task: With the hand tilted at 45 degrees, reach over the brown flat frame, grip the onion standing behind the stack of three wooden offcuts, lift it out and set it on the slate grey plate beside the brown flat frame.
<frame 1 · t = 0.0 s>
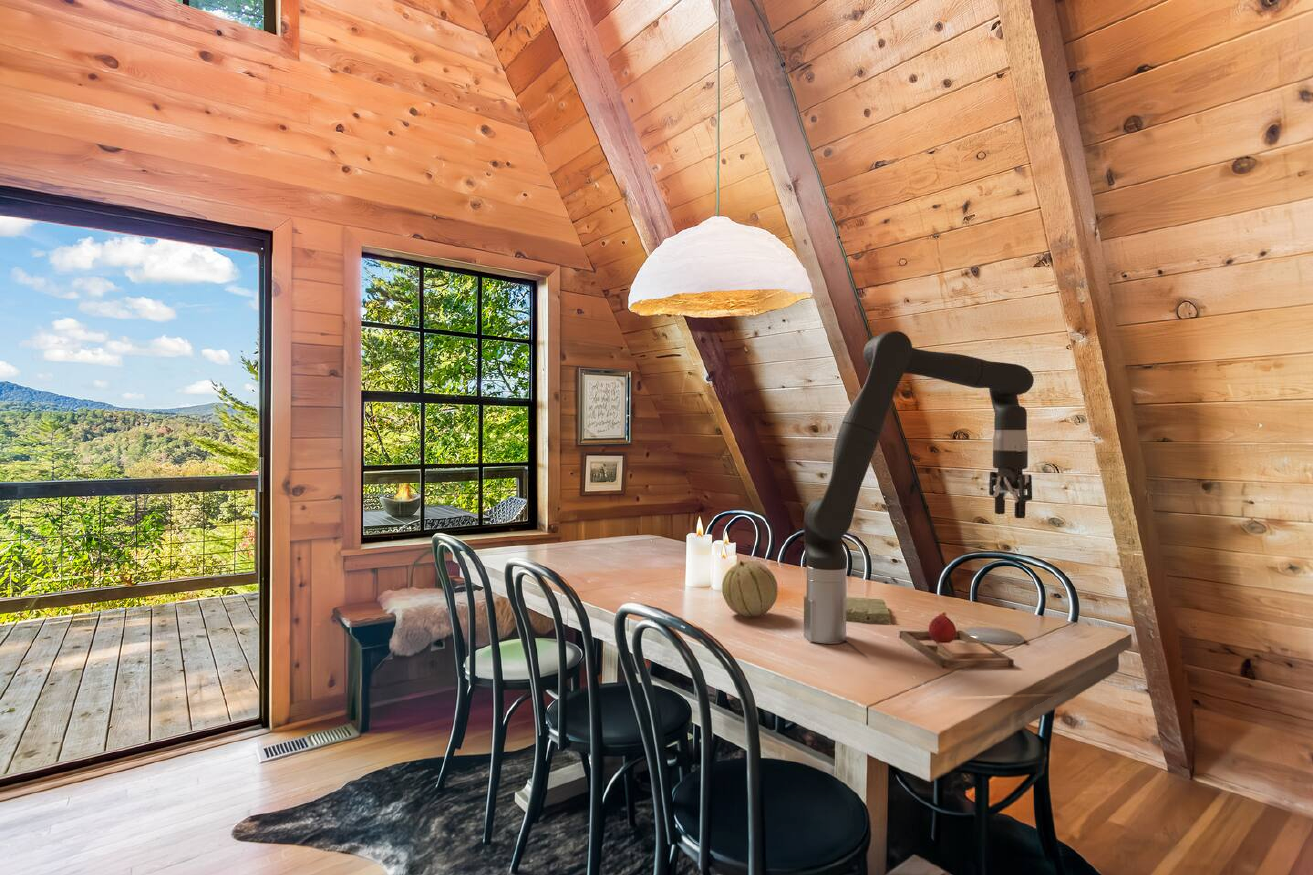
hand: (1009, 516, 169), 29 cm above the table, tool pointing down, fingers open, 8 cm apart
cantaloupe: (749, 616, 187), on the table
green flat block: (849, 615, 191), on the table
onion: (942, 647, 161), on the table
brown flat frame: (952, 653, 156), on the table
plate: (993, 638, 167), on the table
offcut middle: (965, 659, 150), resting on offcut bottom, touching offcut top
offcut top: (965, 653, 150), point 2 cm above the table, touching offcut middle
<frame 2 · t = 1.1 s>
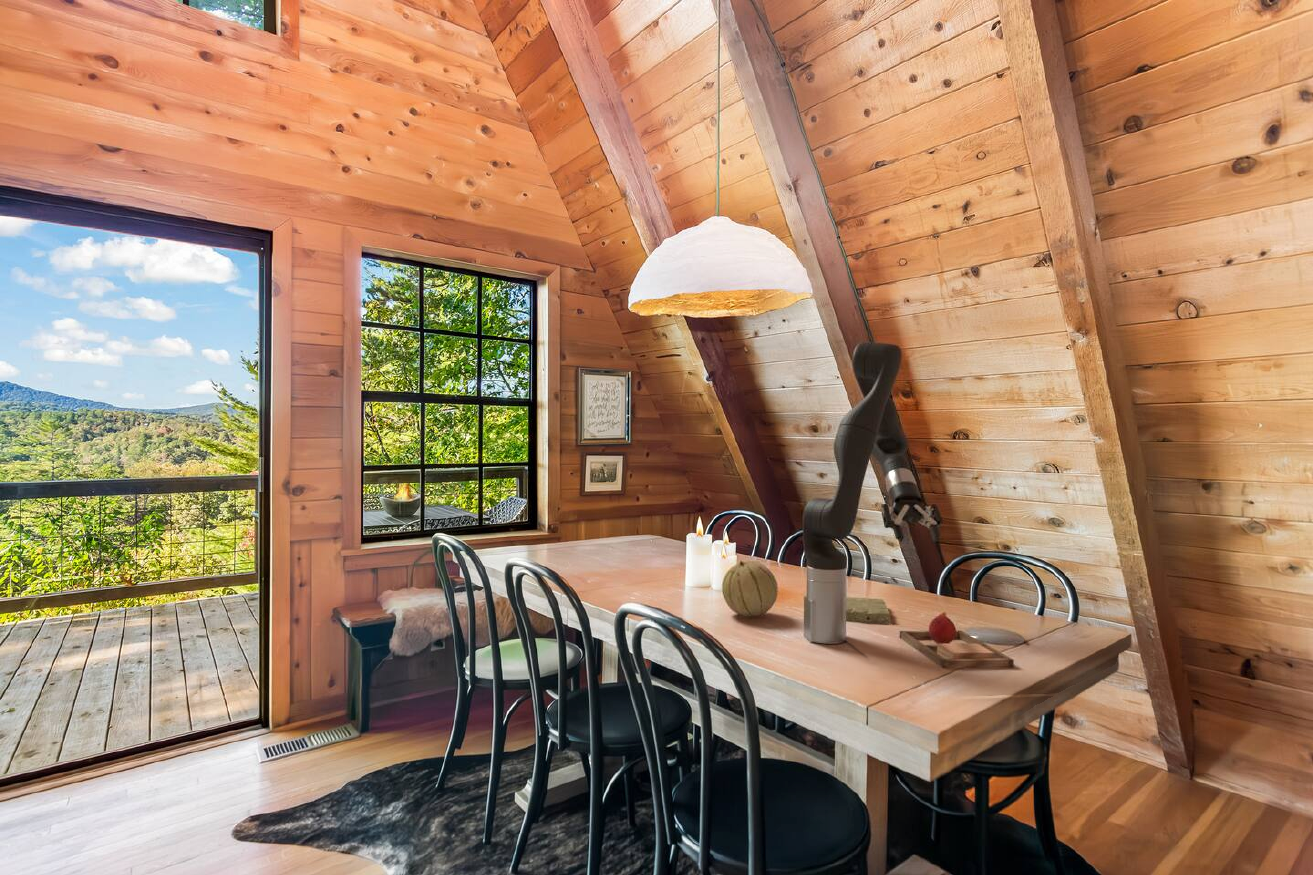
hand: (918, 539, 174), 23 cm above the table, tool tilted 45°, fingers open, 8 cm apart
nothing on the table moved.
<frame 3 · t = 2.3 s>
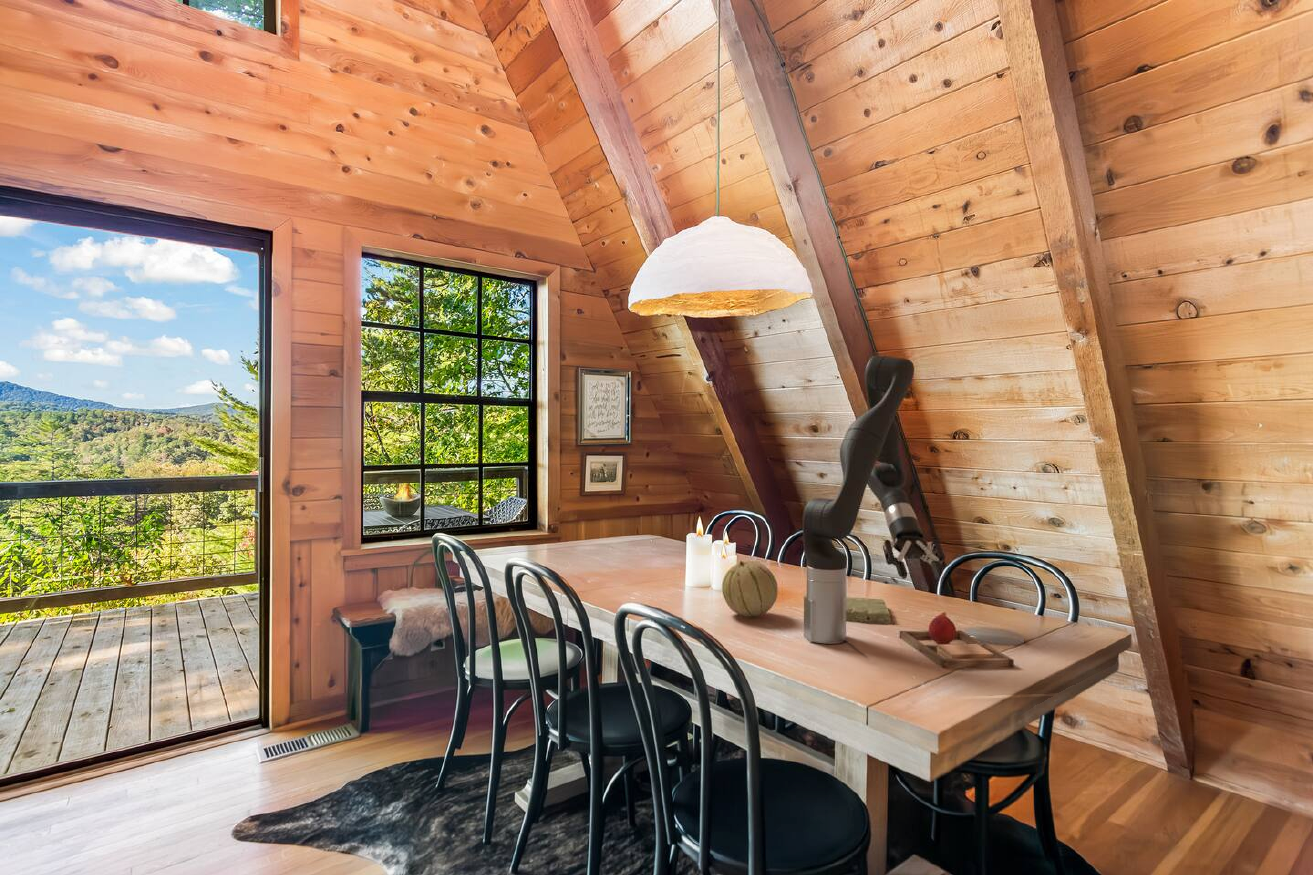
hand: (922, 576, 171), 14 cm above the table, tool tilted 45°, fingers open, 8 cm apart
nothing on the table moved.
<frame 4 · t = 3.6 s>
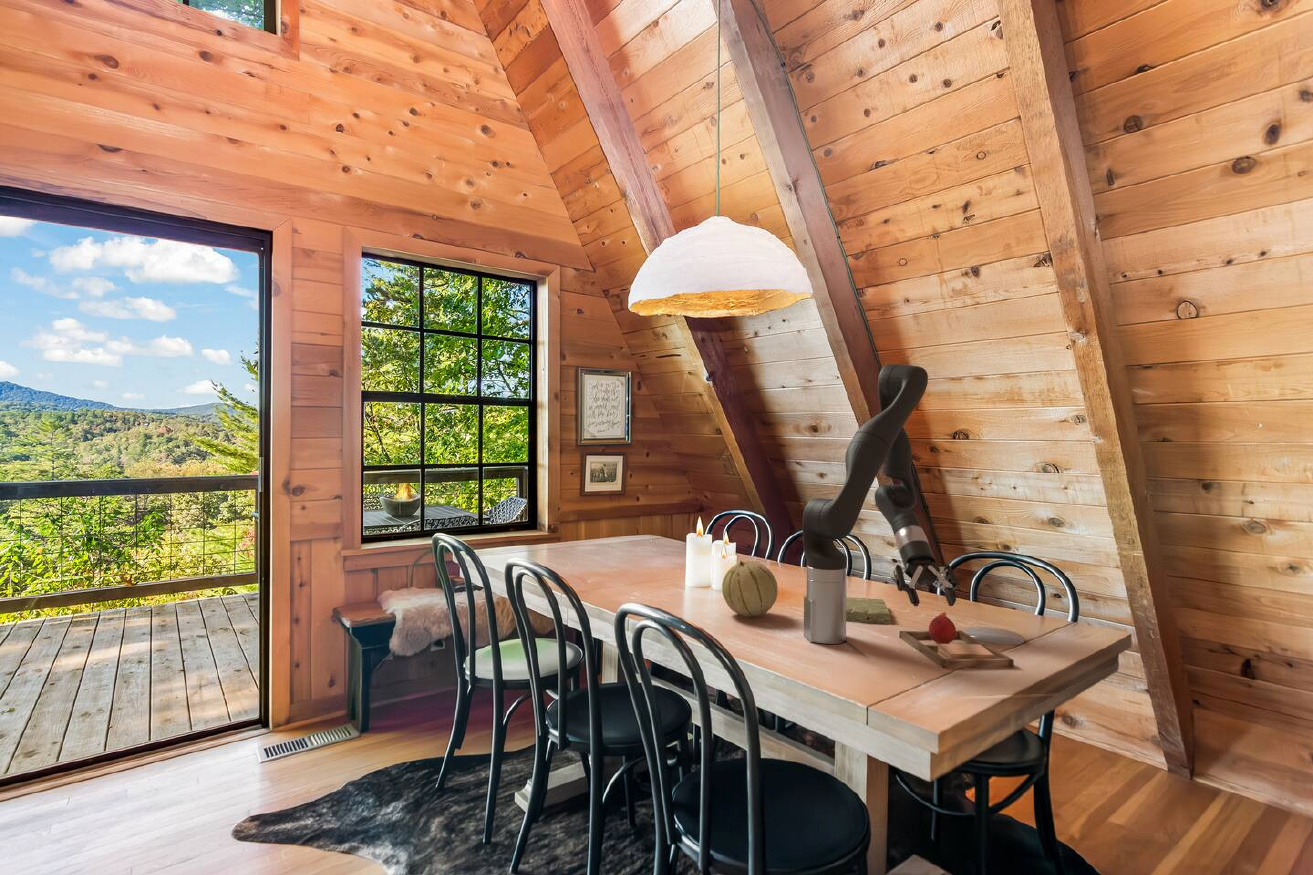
hand: (934, 604, 164), 9 cm above the table, tool tilted 45°, fingers open, 8 cm apart
nothing on the table moved.
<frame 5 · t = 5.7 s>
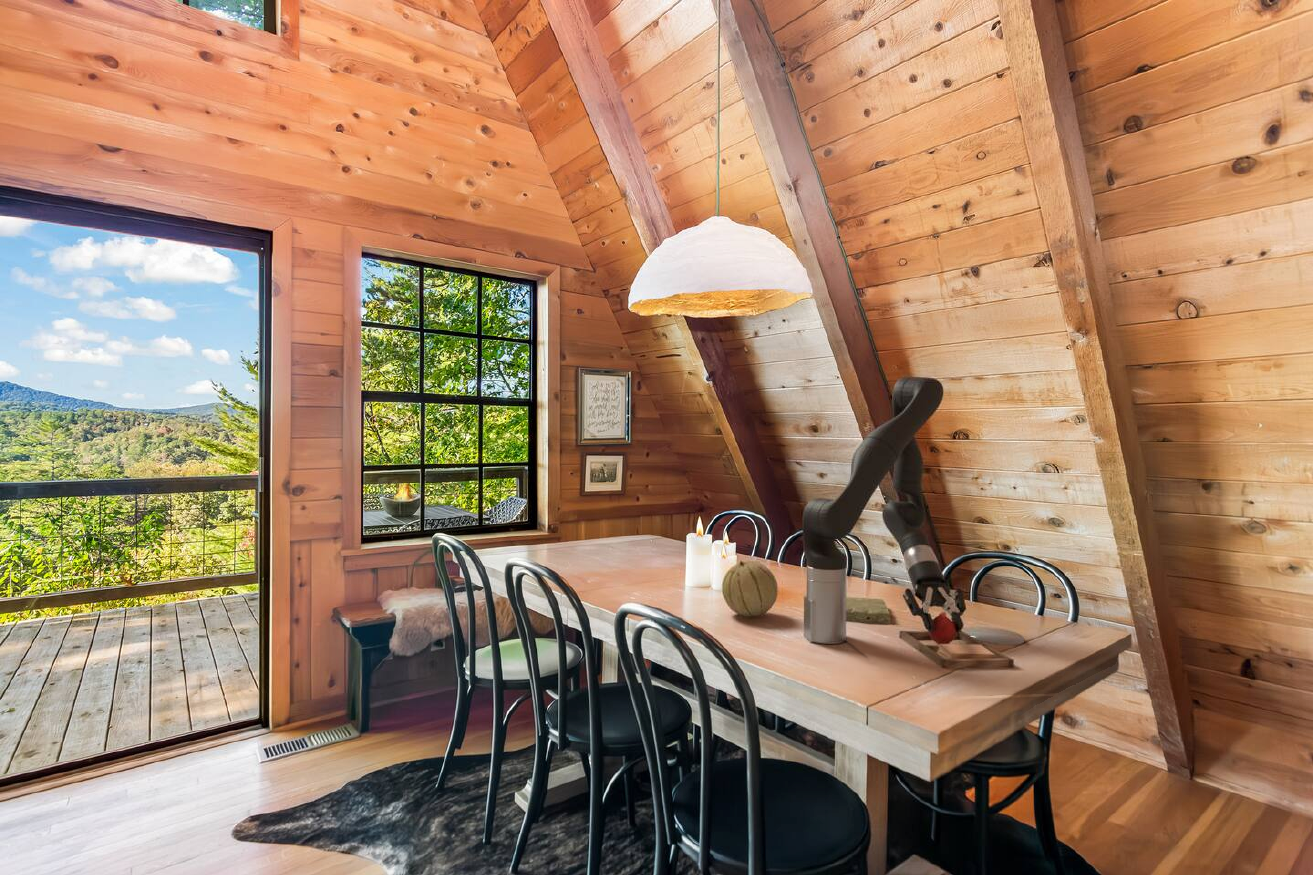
hand: (945, 630, 159), 4 cm above the table, tool tilted 45°, fingers closed on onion, 5 cm apart
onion: (942, 647, 161), on the table, touching gripper
offcut middle: (965, 660, 150), on the table, touching offcut top
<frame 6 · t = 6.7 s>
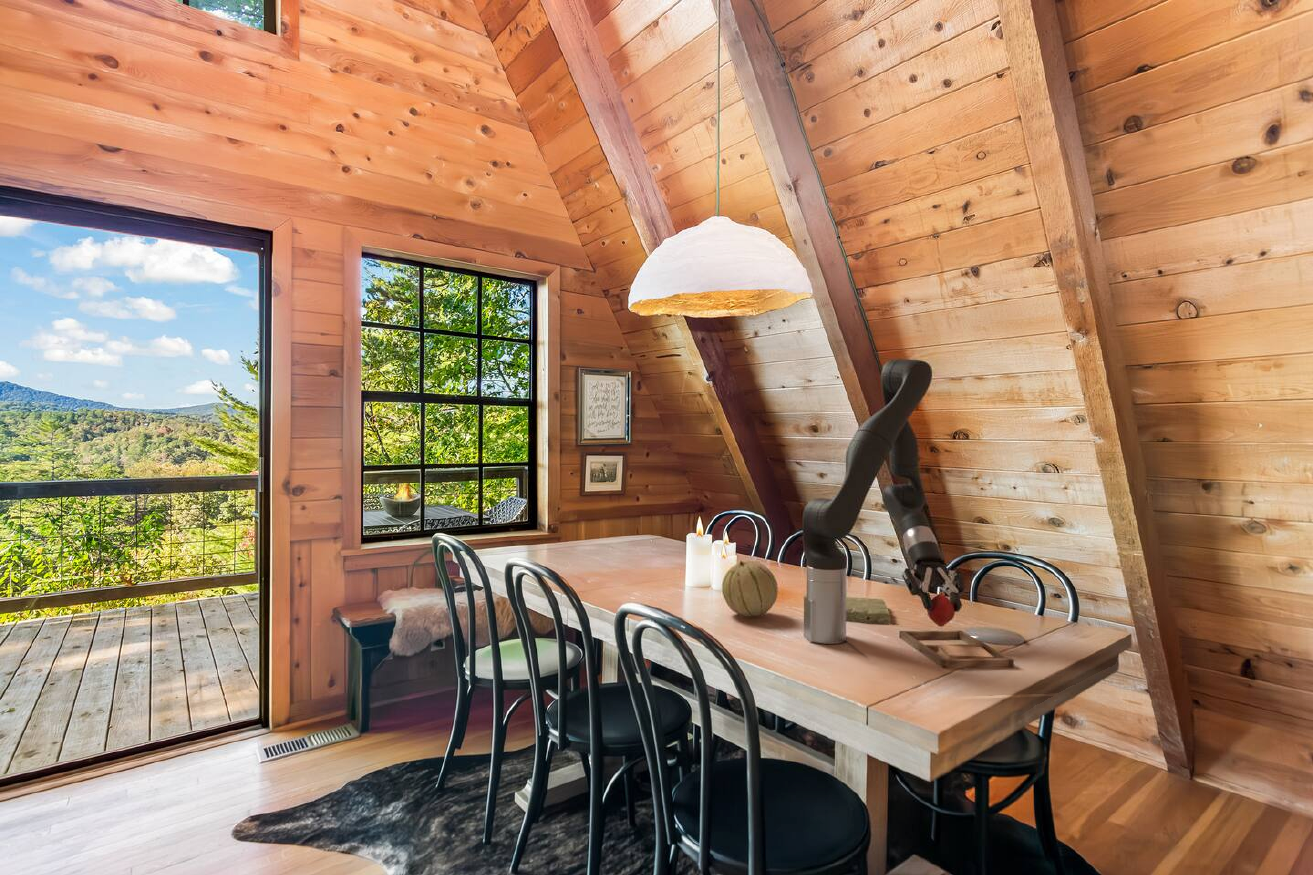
hand: (944, 609, 159), 9 cm above the table, tool tilted 45°, fingers closed on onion, 5 cm apart
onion: (940, 627, 161), point 4 cm above the table, touching gripper
offcut middle: (964, 661, 150), on the table, touching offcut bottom, offcut top
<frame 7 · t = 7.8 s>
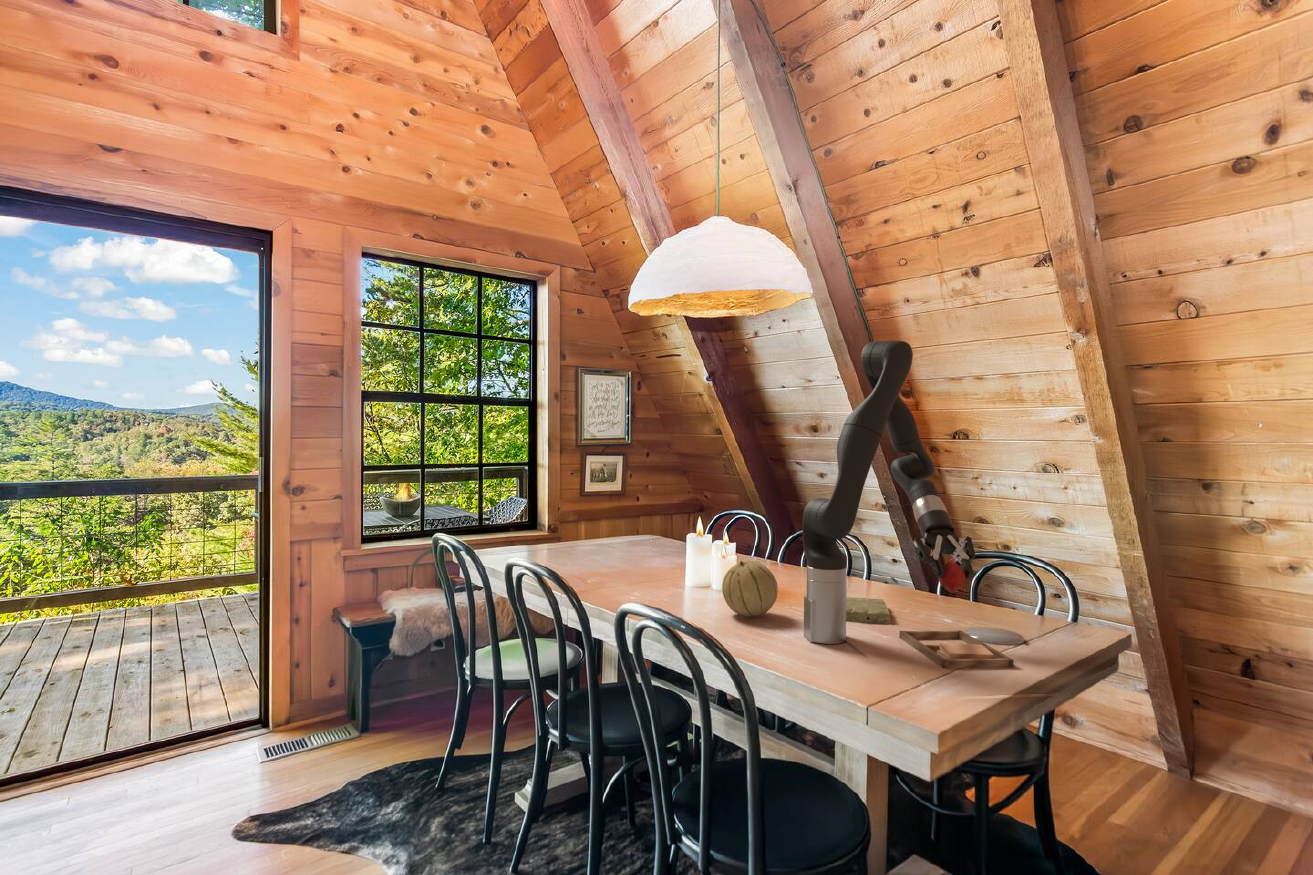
hand: (955, 576, 160), 16 cm above the table, tool tilted 45°, fingers closed on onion, 6 cm apart
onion: (951, 593, 162), point 12 cm above the table, touching gripper
offcut middle: (964, 660, 150), resting on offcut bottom
offcut top: (966, 654, 150), point 1 cm above the table
everything else where it was.
when the fingers open (7 cm above the table, at t = 10.9 s): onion drops 1 cm, resting on plate.
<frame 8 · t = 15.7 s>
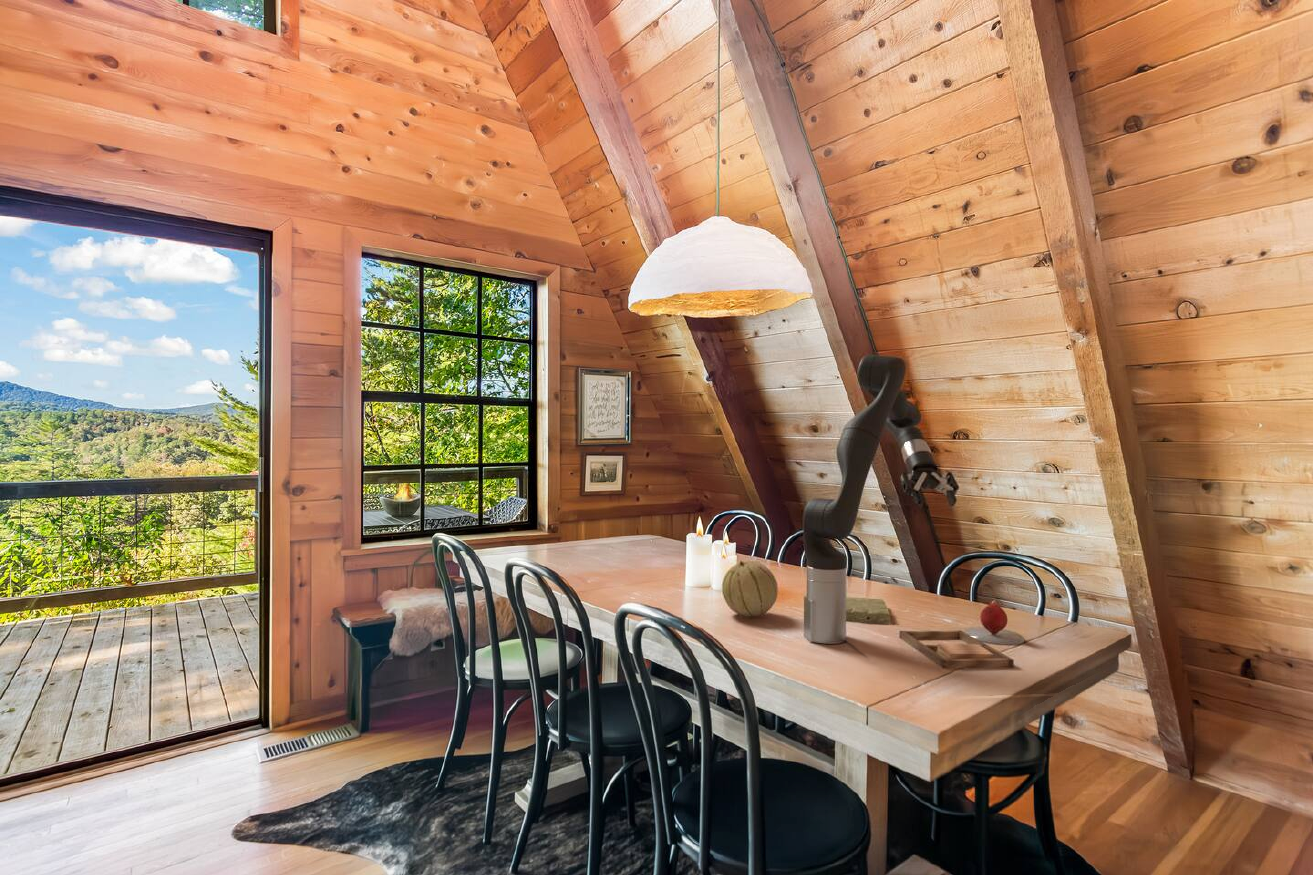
hand: (937, 504, 183), 31 cm above the table, tool tilted 45°, fingers open, 8 cm apart
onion: (993, 634, 168), point 1 cm above the table, touching plate
offcut middle: (964, 660, 150), resting on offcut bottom, touching offcut top
offcut top: (964, 654, 150), point 2 cm above the table, touching offcut middle
everything else where it was.
at the end: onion inside the target area on the plate (0.3 cm from its centre), point 0.8 cm above the plate's base; the gripper is holding nothing; offcut top moved 1.0 cm from its start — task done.
